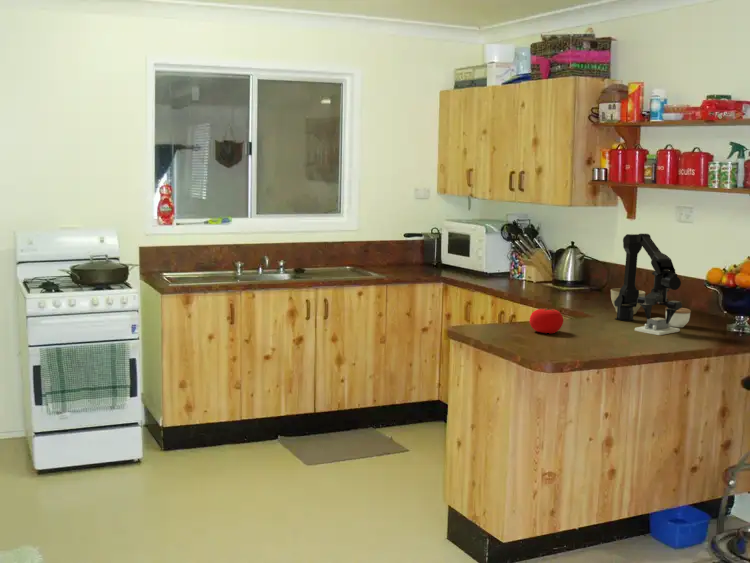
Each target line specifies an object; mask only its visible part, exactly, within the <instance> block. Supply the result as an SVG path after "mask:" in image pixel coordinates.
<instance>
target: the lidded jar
mask: <svg viewBox="0 0 750 563" xmlns="http://www.w3.org/2000/svg"><path fill="white" fill-rule="evenodd" d="M667 308H668V307H667V306H666V307H665V309H664V310H665V311H664V312H665V315H664V316H665V318H666V317H667V311H666V309H667ZM691 312H692V310H691V309H689V308H686V307H682V308H680V309H679V310H676V312H675V313H674V315H673V316H672V318H671V320H670V322H669V323H670V327H673V328H684V327H685V326H686V325H687V324H688V323H689V321H690V318H691Z"/></svg>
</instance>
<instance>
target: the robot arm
mask: <svg viewBox="0 0 750 563" xmlns="http://www.w3.org/2000/svg"><path fill="white" fill-rule="evenodd" d="M622 243H623V244H622V246H623V249H624V251H625V266H624V267H625V268H624V279H623V285H622V286H621V289H620V292H619V296H618V297H617V298H616V300H615V301H614V304H615V306H617V312H616V317H614V320H618V321H624V322H630V321H631V322H632V321H635V318H634V314H633V307H636V305H637V303H640V305H641V308H642V309H643V310H644V313H645V317H646V320H647V319H651V315H652V307H653V306H656V305H659V306H666V308H667V307H668V308H667V309H666V310H665V312H666V311H667V317H665V319H666V324H668V323H669V322H670V320H671V318H672V316H673V315H674V313H675V312H676V310H679V309H680V308H683V303H682V302H681V301H678V300H669V298H668V293H669V292H670V290H673V291H676V290H679V288H680V287H681V285H682V282H681V279H680V277H678V273H676V269H675V266H674V264H673V261H672V259H671V258H670V257H669V256H668V255H667V254H665V253H663V252H661V250H660V248H659V247H658V246H657V245H656V243H655V242H654V240H652V238H651V234H649V233H638V234H637V233H636V234H633V233H631V234H627V233H626V234H625V236H623V239H622ZM642 248H643V250H644V251H645V252H646V254H647V255H648V256H649V258H650V260H651V261H650V265H651V267H652V268H653V270H654V271H653V272H652V273H651V275H653V276H654V278H653V287H652V288H651V290H650V291H651V292H650V293H648V294H645V296H640V297H639V289H637V286H636V280H637V279H636V276H637V265H638V256H639V253H640V252H641V250H642Z"/></svg>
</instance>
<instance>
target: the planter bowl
mask: <svg viewBox="0 0 750 563" xmlns="http://www.w3.org/2000/svg"><path fill="white" fill-rule="evenodd" d="M621 288H622V287H621ZM621 288H619V287H618V288H616V287H615V288H611V289H610V298H611V302H612V305H613V307H614V309H615V313H617V306H615V304H614V301H615V300H616V298H617V297H618V296H619V292H620V289H621ZM638 290H639V289H638ZM640 296H646V292H645V291H643V290H639V297H640ZM640 308H642V306H641V305H640V303H637V305H636V307H633V315H636V314H637V312H638V310H639V309H640Z"/></svg>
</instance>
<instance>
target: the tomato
mask: <svg viewBox="0 0 750 563" xmlns="http://www.w3.org/2000/svg"><path fill="white" fill-rule="evenodd" d="M528 322H529V325H530V326H531V328H532V329H533V331H535V332H538V333H542V334H547V333H549V335H550V334H555V333H557V332H558V331H560V330H561V328H562V327H563V324H564V317H563V314H562V313H561V312H560V311H559V310H557V309H555V308H549V307H546V308H538V309H535V310H533V312H531V314H530V316H529V321H528Z"/></svg>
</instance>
